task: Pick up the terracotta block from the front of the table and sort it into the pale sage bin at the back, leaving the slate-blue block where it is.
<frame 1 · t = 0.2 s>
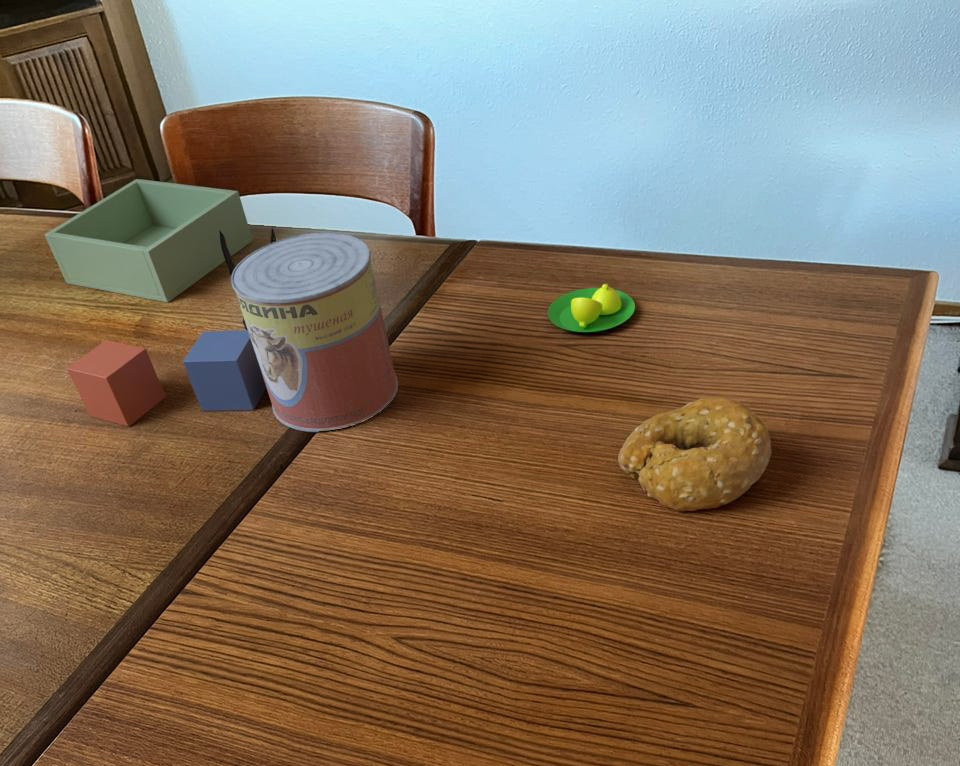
terracotta block: (128, 406, 89), on the table
slate-blue block: (236, 395, 88), on the table
bird model: (266, 321, 97), on the table
bagel: (691, 476, 72), on the table
green plate with lemons: (591, 317, 89), on the table
canned food: (335, 396, 86), on the table
bin: (160, 262, 109), on the table
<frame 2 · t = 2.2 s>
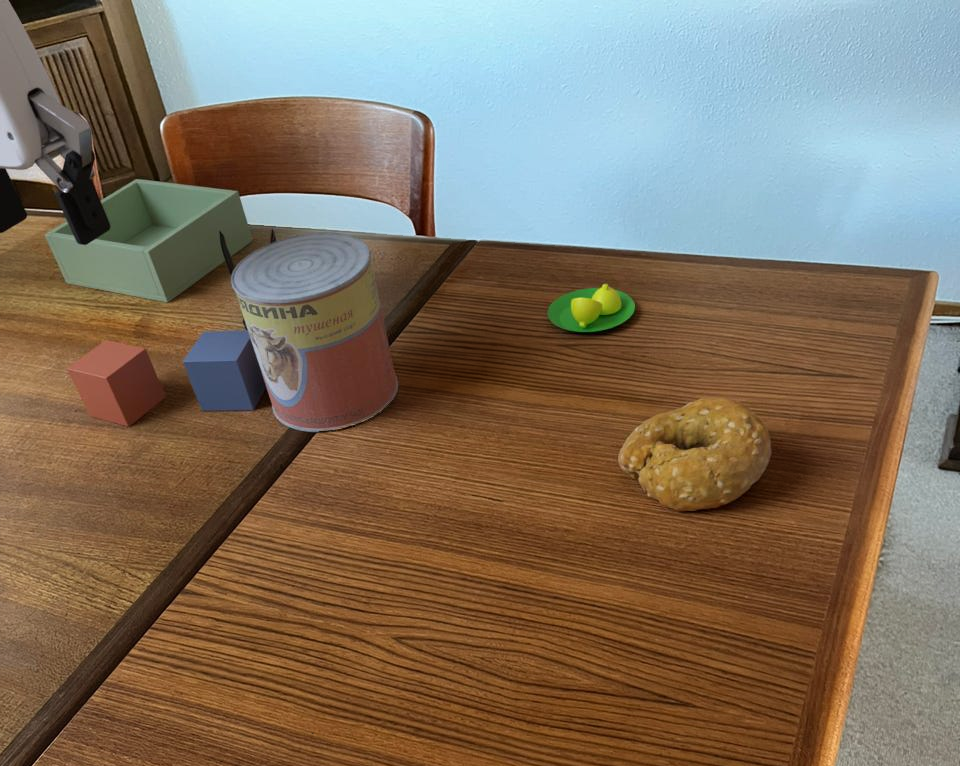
hand: (52, 231, 77), 16 cm above the table, tool pointing down, fingers open, 9 cm apart
nothing on the table moved.
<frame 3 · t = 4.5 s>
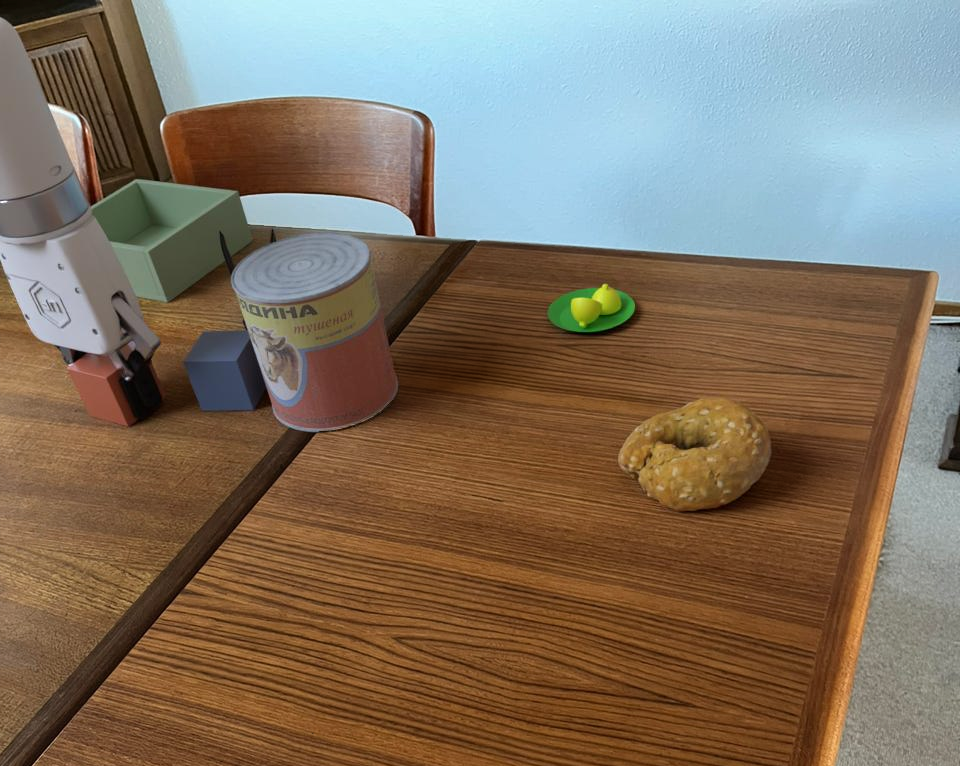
hand: (126, 402, 88), 0 cm above the table, tool pointing down, fingers closed on terracotta block, 5 cm apart
terracotta block: (128, 406, 89), on the table, touching gripper
everything else where it was.
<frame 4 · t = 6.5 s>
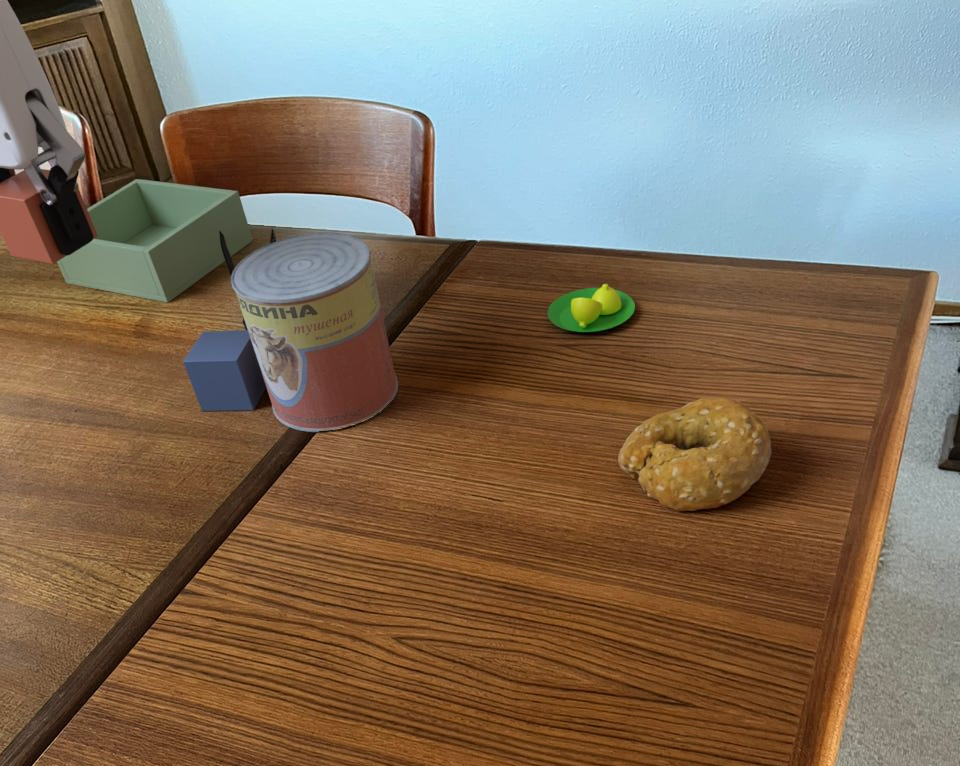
hand: (52, 240, 78), 15 cm above the table, tool pointing down, fingers closed on terracotta block, 5 cm apart
terracotta block: (54, 246, 78), point 15 cm above the table, touching gripper
everything else where it was.
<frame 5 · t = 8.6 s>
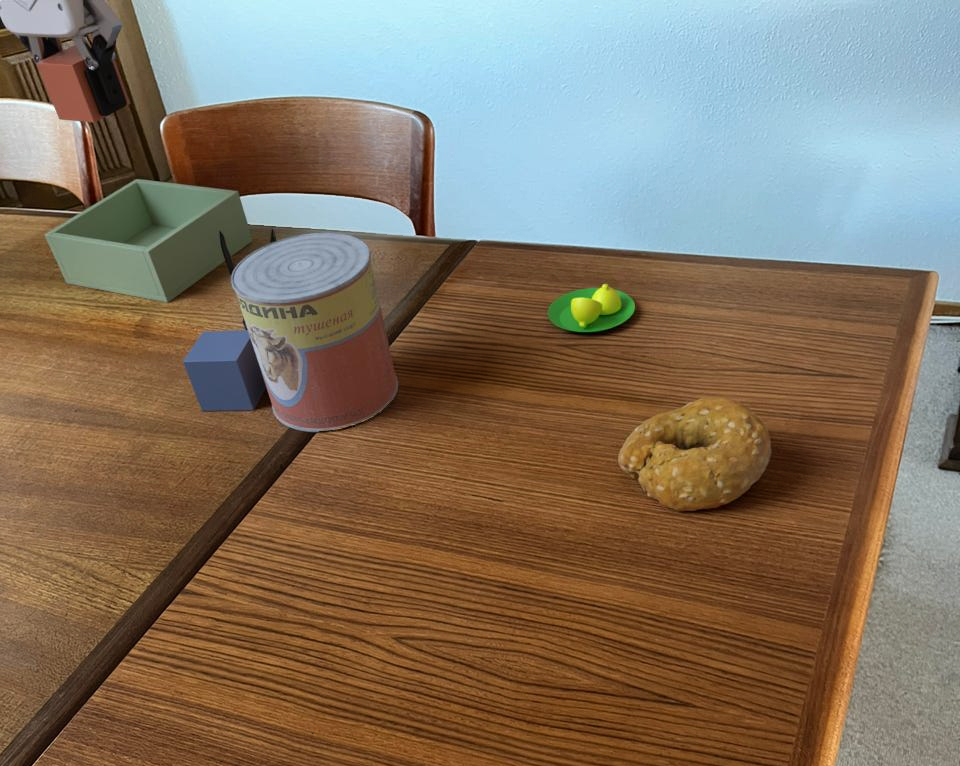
hand: (93, 107, 95), 17 cm above the table, tool pointing down, fingers closed on terracotta block, 5 cm apart
terracotta block: (95, 111, 95), point 17 cm above the table, touching gripper
everything else where it was.
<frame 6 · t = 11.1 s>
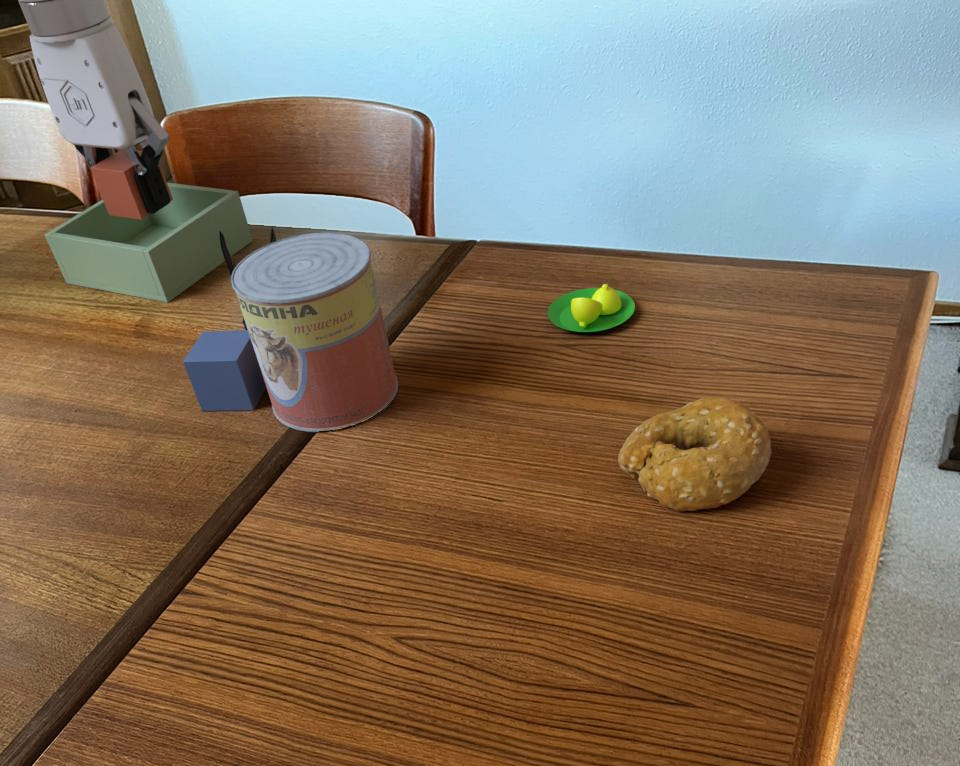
hand: (139, 203, 105), 7 cm above the table, tool pointing down, fingers closed on terracotta block, 5 cm apart
terracotta block: (141, 207, 105), point 6 cm above the table, touching gripper
everything else where it was.
when the fingers open (1 cm above the table, at t = 13.0 s): terracotta block stays where it is, resting on bin.
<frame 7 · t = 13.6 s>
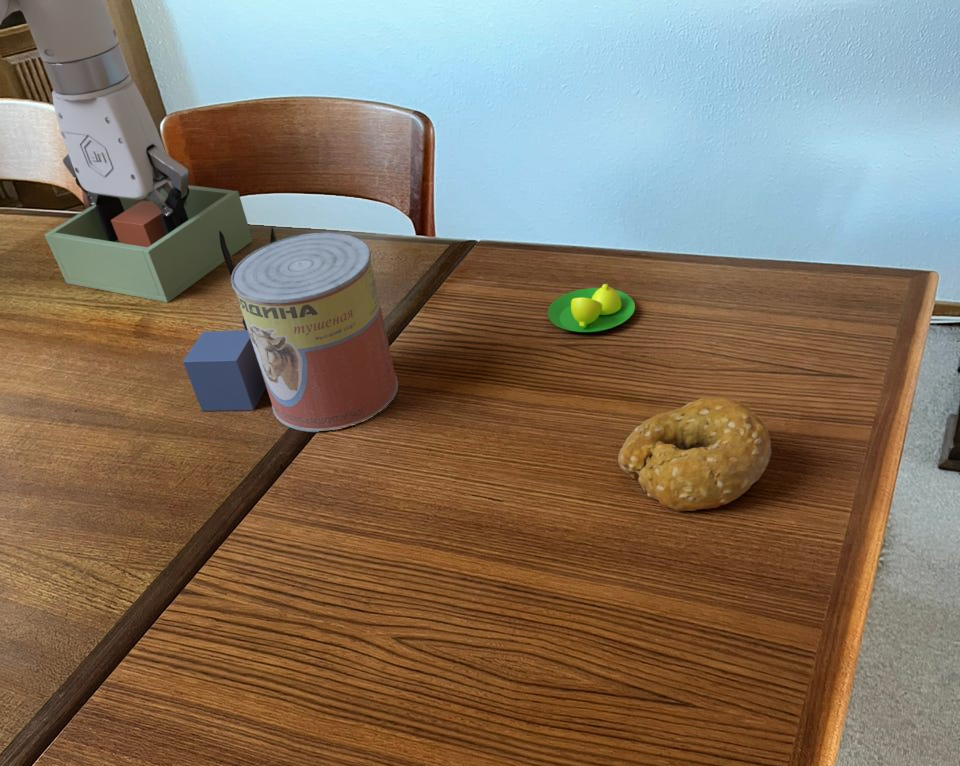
hand: (151, 241, 108), 2 cm above the table, tool pointing down, fingers open, 9 cm apart
terracotta block: (159, 256, 109), point 1 cm above the table, touching bin
everything else where it was.
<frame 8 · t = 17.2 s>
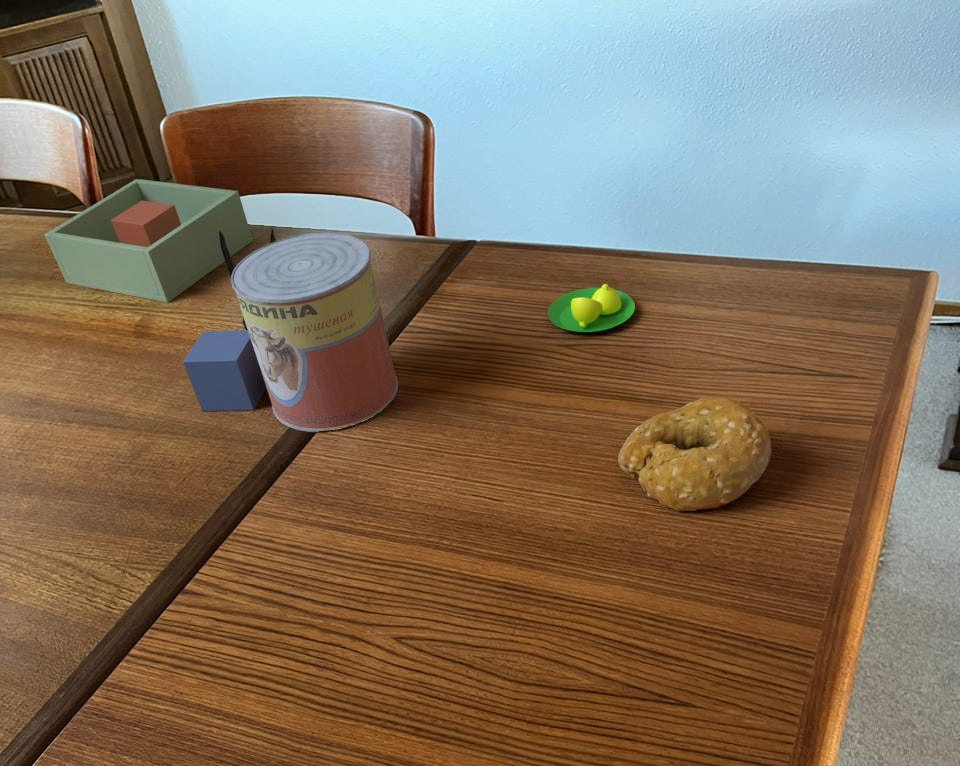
nothing on the table moved.
at the end: terracotta block inside the target area in the bin (0.1 cm from its centre), point 0.6 cm above the bin's base; slate-blue block moved 0.0 cm from its start; the gripper is holding nothing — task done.
